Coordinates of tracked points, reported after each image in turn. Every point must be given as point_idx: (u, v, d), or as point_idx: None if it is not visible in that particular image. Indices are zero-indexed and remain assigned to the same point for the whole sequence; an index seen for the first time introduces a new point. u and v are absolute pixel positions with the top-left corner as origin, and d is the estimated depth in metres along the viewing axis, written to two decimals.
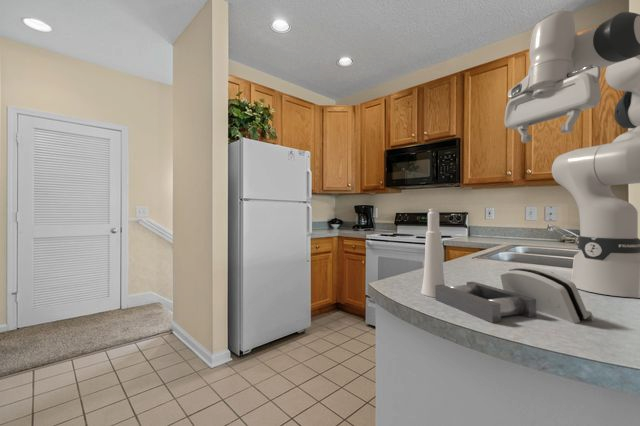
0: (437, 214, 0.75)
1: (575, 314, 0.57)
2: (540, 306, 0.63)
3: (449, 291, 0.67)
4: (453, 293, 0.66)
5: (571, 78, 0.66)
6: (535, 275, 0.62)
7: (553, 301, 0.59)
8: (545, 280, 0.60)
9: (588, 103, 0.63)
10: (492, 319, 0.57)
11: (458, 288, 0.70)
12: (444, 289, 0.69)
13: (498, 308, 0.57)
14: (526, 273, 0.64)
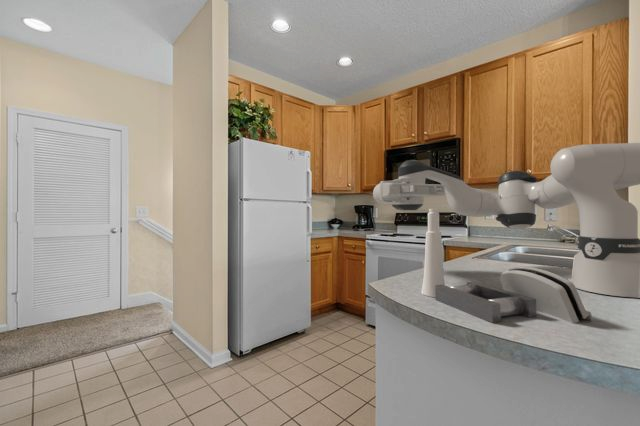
0: (437, 214, 0.75)
1: (574, 314, 0.57)
2: (539, 306, 0.63)
3: (449, 291, 0.67)
4: (453, 293, 0.66)
5: None
6: (534, 275, 0.62)
7: (552, 301, 0.59)
8: (544, 280, 0.60)
9: (444, 186, 0.95)
10: (492, 319, 0.57)
11: (458, 288, 0.70)
12: (444, 289, 0.69)
13: (498, 308, 0.57)
14: (525, 273, 0.64)
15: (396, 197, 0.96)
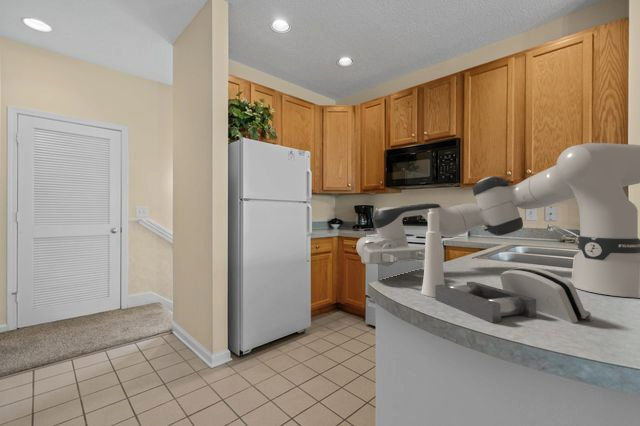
0: (437, 214, 0.75)
1: (573, 314, 0.57)
2: (539, 306, 0.63)
3: (449, 291, 0.67)
4: (453, 293, 0.66)
5: None
6: (533, 275, 0.62)
7: (551, 301, 0.59)
8: (543, 280, 0.60)
9: None
10: (492, 319, 0.57)
11: (458, 288, 0.70)
12: (444, 289, 0.69)
13: (498, 308, 0.57)
14: (525, 273, 0.64)
15: None
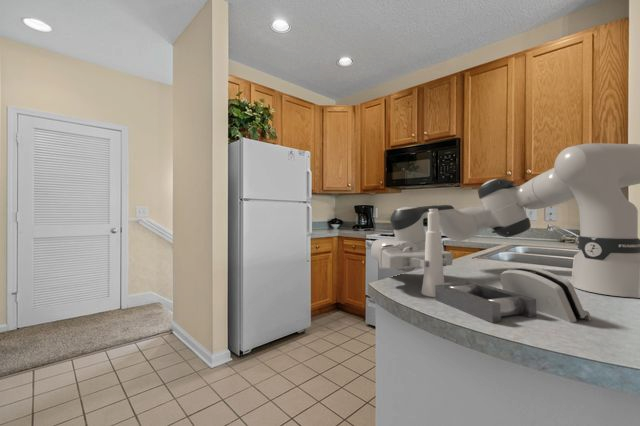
0: (437, 214, 0.75)
1: (572, 313, 0.57)
2: (538, 306, 0.63)
3: (449, 291, 0.67)
4: (453, 293, 0.66)
5: None
6: (533, 274, 0.63)
7: (550, 300, 0.60)
8: (542, 279, 0.60)
9: None
10: (492, 319, 0.57)
11: (458, 288, 0.70)
12: (444, 289, 0.69)
13: (498, 308, 0.57)
14: (524, 272, 0.65)
15: None
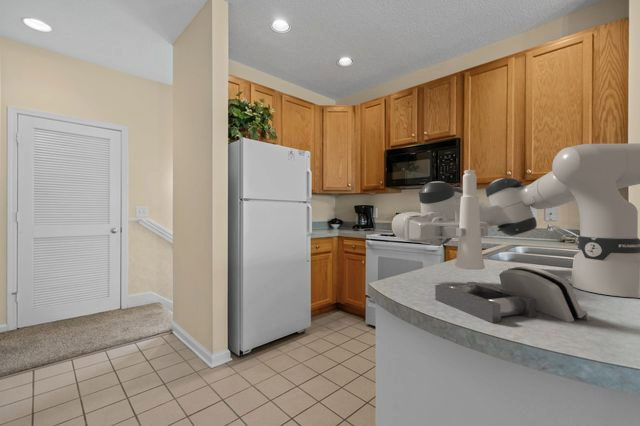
0: (474, 176, 0.66)
1: (569, 313, 0.57)
2: (536, 305, 0.64)
3: (449, 291, 0.67)
4: (453, 293, 0.66)
5: None
6: (531, 274, 0.63)
7: (548, 300, 0.60)
8: (540, 279, 0.61)
9: (487, 224, 0.74)
10: (492, 319, 0.57)
11: (458, 288, 0.70)
12: (444, 289, 0.69)
13: (498, 308, 0.57)
14: (523, 272, 0.65)
15: None
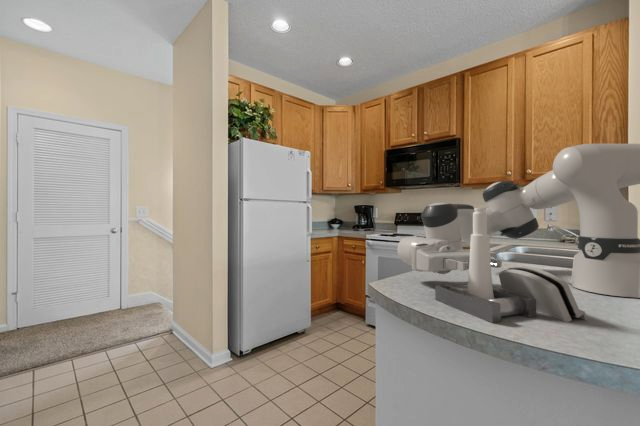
0: (485, 214, 0.65)
1: (567, 313, 0.57)
2: None
3: (449, 291, 0.67)
4: (453, 293, 0.66)
5: None
6: (529, 274, 0.63)
7: (546, 300, 0.60)
8: (538, 279, 0.61)
9: (496, 254, 0.73)
10: (492, 319, 0.57)
11: (458, 288, 0.70)
12: (444, 289, 0.69)
13: (498, 308, 0.57)
14: (521, 272, 0.65)
15: None
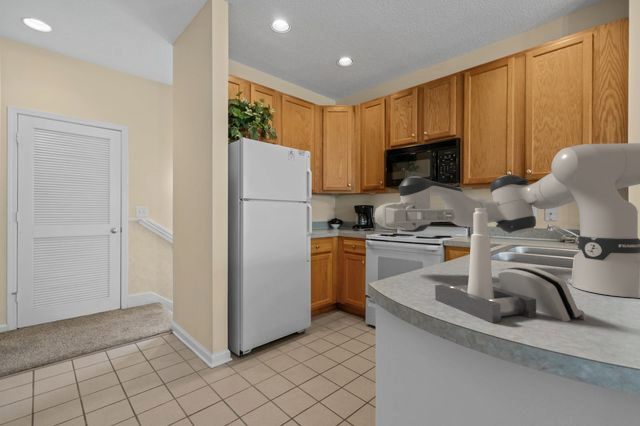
0: (486, 214, 0.65)
1: (565, 312, 0.58)
2: None
3: (449, 291, 0.67)
4: (453, 293, 0.66)
5: None
6: (528, 274, 0.63)
7: (544, 299, 0.60)
8: (537, 279, 0.61)
9: (454, 210, 0.86)
10: (492, 319, 0.57)
11: (458, 288, 0.70)
12: (444, 289, 0.69)
13: (498, 308, 0.57)
14: (520, 272, 0.65)
15: (401, 223, 0.87)
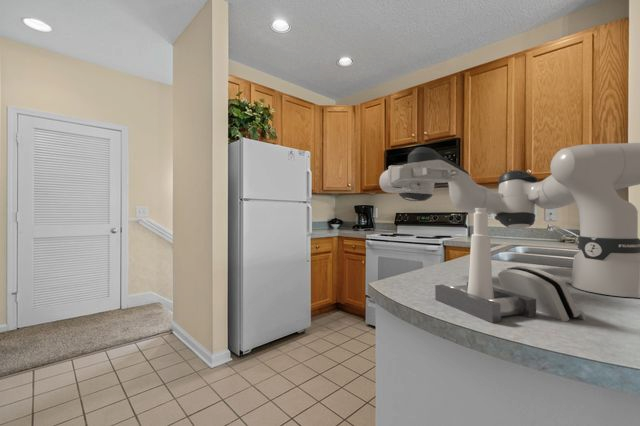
0: (486, 214, 0.65)
1: (564, 312, 0.58)
2: None
3: (449, 291, 0.67)
4: (453, 293, 0.66)
5: None
6: (527, 274, 0.64)
7: (544, 299, 0.61)
8: (536, 278, 0.61)
9: None
10: (492, 319, 0.57)
11: (458, 288, 0.70)
12: (444, 289, 0.69)
13: (498, 308, 0.57)
14: (520, 272, 0.66)
15: (406, 183, 0.89)
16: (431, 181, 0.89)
